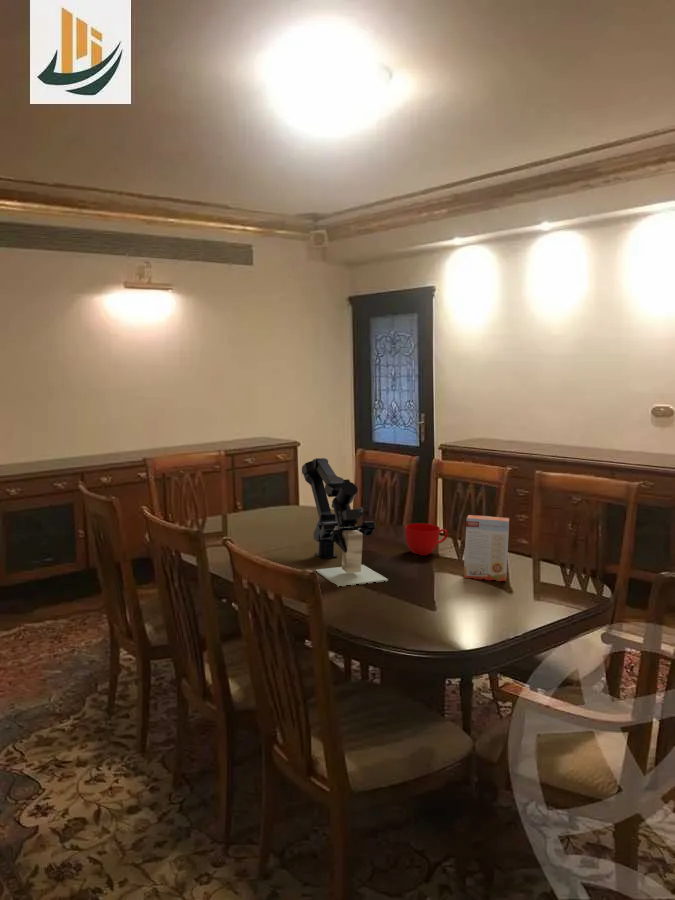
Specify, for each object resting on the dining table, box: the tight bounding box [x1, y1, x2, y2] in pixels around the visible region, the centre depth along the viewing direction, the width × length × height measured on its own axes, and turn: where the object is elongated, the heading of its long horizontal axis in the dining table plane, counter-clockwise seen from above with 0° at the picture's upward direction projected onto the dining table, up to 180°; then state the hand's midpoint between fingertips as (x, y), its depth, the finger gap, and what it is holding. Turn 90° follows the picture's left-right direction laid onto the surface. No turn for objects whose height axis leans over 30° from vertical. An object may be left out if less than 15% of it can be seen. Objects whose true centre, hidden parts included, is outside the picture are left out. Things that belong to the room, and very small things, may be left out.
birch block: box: [341, 530, 364, 573], centre depth 242 cm, size 5×5×13 cm
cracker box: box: [463, 514, 510, 582], centre depth 245 cm, size 14×6×21 cm, turn 74°
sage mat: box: [315, 564, 389, 588], centre depth 243 cm, size 18×18×1 cm
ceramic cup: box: [404, 522, 449, 556], centre depth 275 cm, size 13×17×10 cm
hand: (353, 551), depth 241 cm, fingers closed on birch block, 5 cm apart
